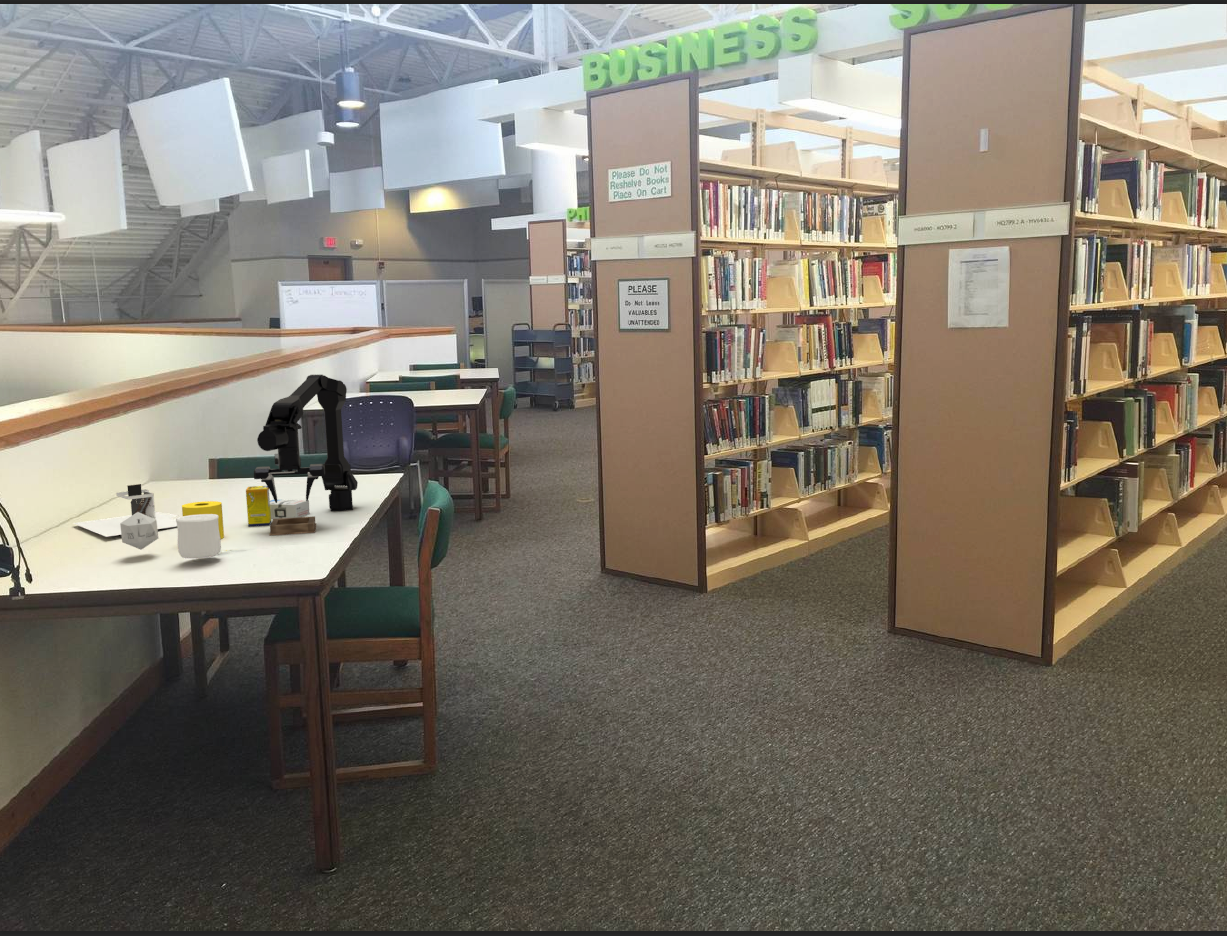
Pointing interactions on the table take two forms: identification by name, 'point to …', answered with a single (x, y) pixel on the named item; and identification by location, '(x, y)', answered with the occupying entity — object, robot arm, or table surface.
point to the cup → (198, 536)
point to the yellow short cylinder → (205, 511)
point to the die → (139, 530)
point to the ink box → (289, 508)
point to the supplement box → (258, 506)
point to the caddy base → (293, 525)
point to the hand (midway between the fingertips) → (291, 501)
